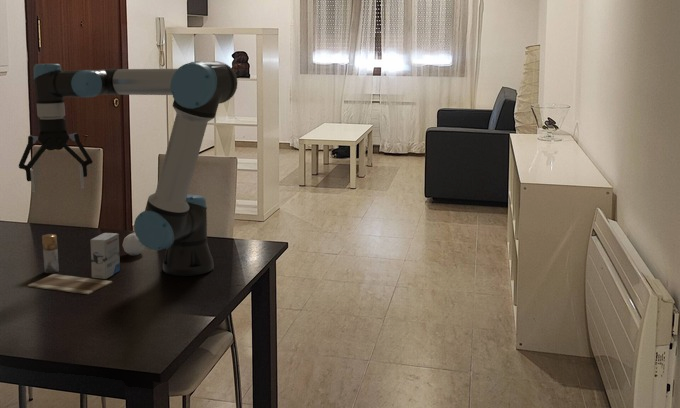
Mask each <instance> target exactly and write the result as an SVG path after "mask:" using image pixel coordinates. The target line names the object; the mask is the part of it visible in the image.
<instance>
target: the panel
mask: <svg viewBox="0 0 680 408" xmlns="http://www.w3.org/2000/svg"><path fill="white" fill-rule="evenodd" d="M112 283H113V281H112V280H107V279H100V278H92V277H91V278H89V277H81V276H74V275H67V274H66V275H64V274H58V273H51V274H50V275H48V276H45V277H43V278H41V279H39V280H36V281H34V282H32V283H31V282H30V283H29V284H27V288H28V287H30V288H38V289H45V290H50V291H51V290H52V291H59V292H66V293H67V292H68V293H75V294H82V295H90V294H92V293H94V292H96V291H98V290H100V289H103V288H104V287H106V286H108V285H110V284H112Z"/></svg>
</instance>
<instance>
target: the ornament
mask: <svg viewBox="0 0 680 408" xmlns="http://www.w3.org/2000/svg"><path fill="white" fill-rule="evenodd" d="M122 248H123V250H124V252H125V253H127V254H128V255H129V256H139V255H140V254H141V253H143V252H144V251H145V249H146V247H145V246H144V245H143V244H142V243H141V242H140V241H139V239H138V237H137V236H136V234H135V231H134V232H132V233H129V234H128V235H127V236H125V237H124V239H123V241H122Z"/></svg>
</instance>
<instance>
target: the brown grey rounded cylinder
mask: <svg viewBox="0 0 680 408" xmlns="http://www.w3.org/2000/svg"><path fill="white" fill-rule="evenodd" d="M41 240H42V241H41V242H42V253H43V254H42V255H43V268H44V273H45V274H57V273H58V272H59V271H60V267H59V254H58V253H59V250H58V237H57V234H55V233H54V234H53V233H47V234H43V235H42V236H41Z"/></svg>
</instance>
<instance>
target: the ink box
mask: <svg viewBox="0 0 680 408" xmlns="http://www.w3.org/2000/svg"><path fill="white" fill-rule="evenodd" d="M119 235H120V234H119V233H118V232H117V233H116V232H115V233H113V232H103V233H101V234H99V235H97V236H95V237H93V238H91V239H90V260H91V261H90V262H91V279H99V280H107V279H108V278H110V277H112V276H114V275H115V274H117V273H118V272H120V271H121V264H120V261H121V260H120V238H119V237H120V236H119Z"/></svg>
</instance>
